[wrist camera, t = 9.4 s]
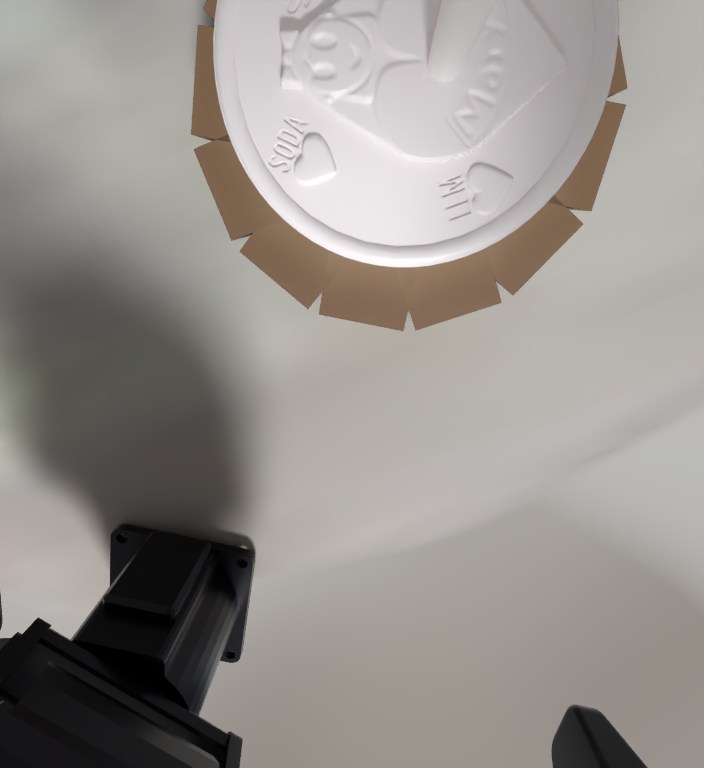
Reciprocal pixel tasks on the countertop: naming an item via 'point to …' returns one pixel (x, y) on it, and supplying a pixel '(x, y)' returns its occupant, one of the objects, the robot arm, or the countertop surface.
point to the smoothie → (411, 114)
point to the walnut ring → (381, 283)
